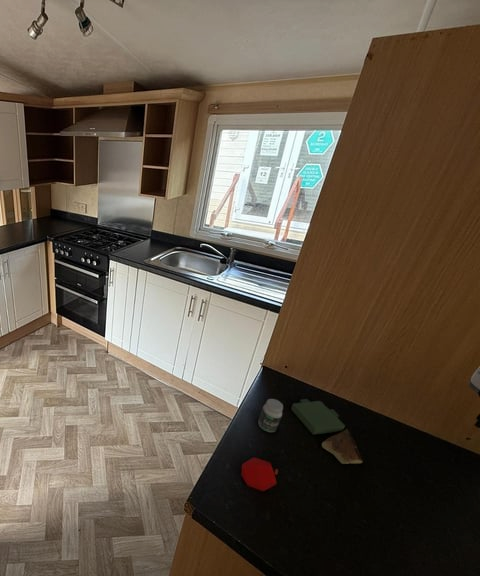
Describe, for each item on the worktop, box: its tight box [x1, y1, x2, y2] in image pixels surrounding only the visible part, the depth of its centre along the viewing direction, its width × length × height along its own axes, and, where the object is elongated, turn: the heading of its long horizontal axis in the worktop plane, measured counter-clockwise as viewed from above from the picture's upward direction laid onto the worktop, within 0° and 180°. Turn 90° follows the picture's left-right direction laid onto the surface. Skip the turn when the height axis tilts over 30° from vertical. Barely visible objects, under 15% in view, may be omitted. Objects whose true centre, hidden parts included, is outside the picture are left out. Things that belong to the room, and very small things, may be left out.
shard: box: [321, 428, 364, 465], centre depth 81 cm, size 11×8×2 cm
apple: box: [240, 457, 279, 492], centre depth 72 cm, size 7×7×8 cm
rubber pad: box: [290, 398, 346, 435], centre depth 90 cm, size 10×10×2 cm
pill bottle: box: [258, 398, 284, 433], centre depth 86 cm, size 5×5×8 cm
